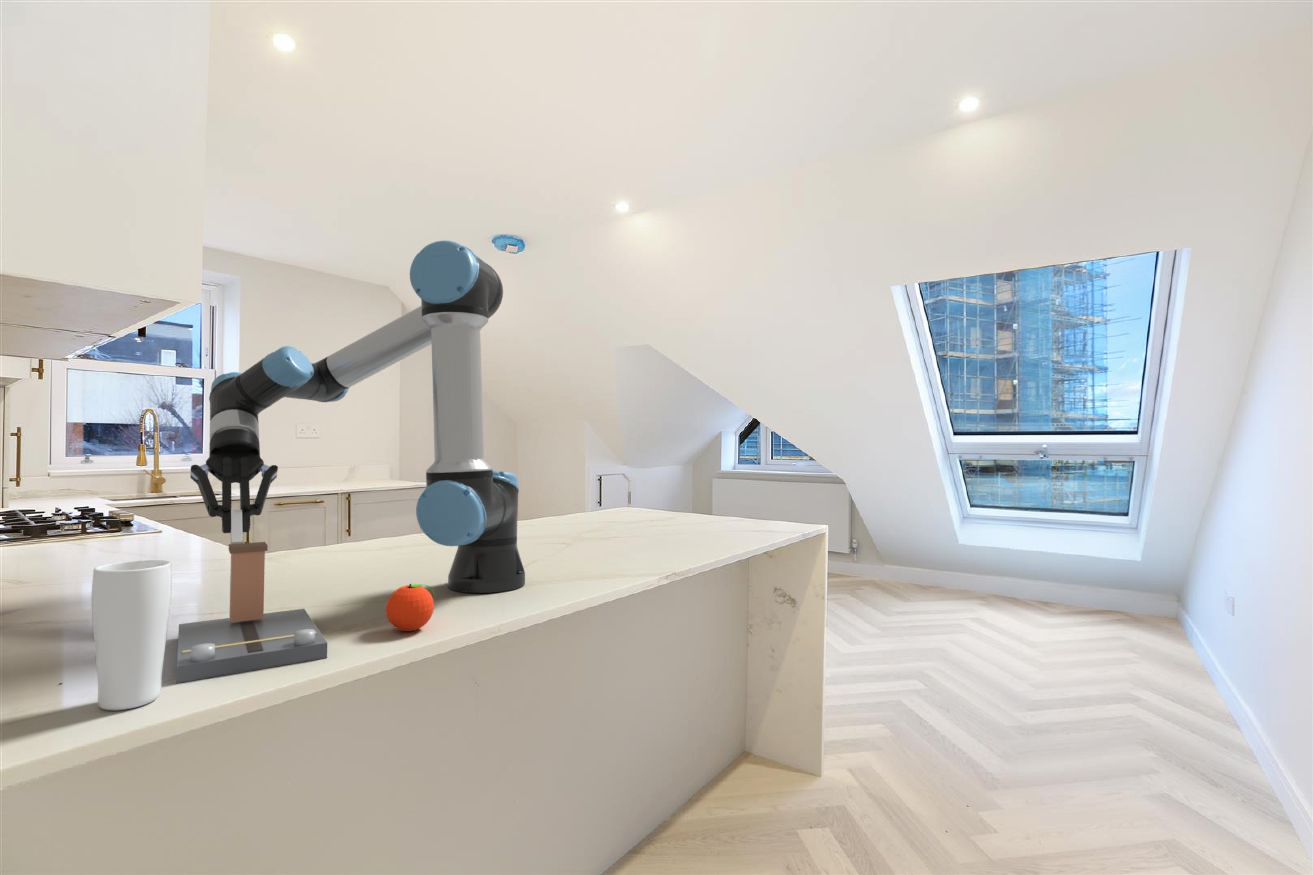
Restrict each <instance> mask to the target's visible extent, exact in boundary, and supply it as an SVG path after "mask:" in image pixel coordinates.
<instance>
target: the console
mask: <svg viewBox="0 0 1313 875" xmlns="http://www.w3.org/2000/svg"><path fill="white" fill-rule="evenodd" d="M177 636H178V637H177V639H178V640H177V657H176V658H177V659H176V661H177V662H176V684H180V683H186V682H191V681H198V680H203V679H209V678H216V677H221V676H227V675H234V674H240V673H245V672H250V671H257V670H258V671H259V670H263V669H270V668H275V667H280V666H287V665H292V664H298V663H303V662H310V661H317V660H321V659H322V660H323V659H327V658H328V641H327V640H326V638H325V637H324V635H323V634H322V632H321V631H320V630H319V628H318V627H317V626H316V624H315V622H314V621H313V619H312V617H310V615H309V614H308V612H307V610H306V609H305V608H299V609H298V608H297V609H290V610H283V611H282V610H281V611H274V612H266V613H265V612H264V613H263V619H257V620H249V621H241V622H233V623H231V622H230V617H227V618H218V619H217V618H216V619H211V620H202V621H201V620H200V621H194V622H186V623H178V635H177Z"/></svg>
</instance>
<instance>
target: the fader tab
mask: <svg viewBox="0 0 1313 875" xmlns="http://www.w3.org/2000/svg"><path fill="white" fill-rule="evenodd" d="M228 552H229V554H230V574H229V575H230V576H229V577H230V578H229V580H230V581H229V618H230V622H231V623H233V622H241V621H249V620H257V619H263V614H265V612H264V610H265V609H264V607H265V605H264V602H265V563H266V561H265V560H266V559H265V558H266V552H268V543H266V541H258V542H245V543H241V544H231V543H230V544H228Z"/></svg>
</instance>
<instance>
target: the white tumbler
mask: <svg viewBox="0 0 1313 875" xmlns="http://www.w3.org/2000/svg"><path fill="white" fill-rule="evenodd" d="M172 570H173V569H172V562H171V561H169V560H163V559H142V560H141V559H140V560H129V561H120V562H114V563H108V564H107V563H106V564H102V565H99V566H96V567H95V568H93V570H92V583H91V618H92V627H93V628H92V630H93V638H94V639H93V641H94V650H95V651H94V652H95V661H96V663H95V664H96V676H97V677H96V678H97V704H98V707H99V708H101V709H102V710H105V711H123V710H125V711H126V710H130V709H134V708H138V707H143V706H145V705H147V704H151V702H153V701H155V700H157V699H158V698H159V697H160V695H161V692H162V684H163V683H162V678H163V677H162V676H163V668H164V659H165V651H166V643H167V636H168V627H169V621H170V613H171V605H172V594H173V593H172V590H173V573H172Z"/></svg>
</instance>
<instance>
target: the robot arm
mask: <svg viewBox="0 0 1313 875" xmlns="http://www.w3.org/2000/svg"><path fill="white" fill-rule="evenodd" d="M409 282H410V285H411V287H412V289H413V290H414V293H415V294H416V295H417V296H418V298H419V299H421V305H420V306H418V307H416V308H414V309H412V310H411V311H409V312H407V313H405V314H403V315H401V316H400V317H398V318H396V319H394V320H392V321H391V322H389V323H387V324H385V325H383V326H381V327H379V328H377V329H375V330H374V331H371V333H368V334H366V335H365V336H363V337H361V338H359V339H357V340H355V341H353V342H352V343H350V344H348V345H346V346H344V347H342V348H340V349H339V350H337V351H334V352H333V353H331V354H329V355H328V356H326V357H324V358H322V359H320V360H318V361H316V362H314V363H313V362H311V361H310V359H309V358H308V357H307V356H306V355H305V353H303V352H302V351H301V350H298V349H297V348H296V347H294V346H290V345H285V346H282V347H279V348H278V349H277V350H275V351H272V352H270V353H268V354H267V355H265V357H264V358H263V357H262V359H260V360H259V361H257V362H256V363H255V364H253V365H252V366H251V367H249V368H248V369H246V370H245V371H244V372H239V371H238V372H236V371H231V372H228V373H222V374H220V375H218V376H216V378H215V379H214V380H213V381H212V383H211V387H210V393H209V397H208V401H209V415H210V416H209V452H208V453H209V454H208V455H209V456H208V458H207V459H206V460H205V463H204V464H201V465H198V464H192V465H191V466H190V479H191V480H193V482H194V483H195V484H196V485H197V486H198V489H199V492H200V494H201V497H202V500H203V503H204V505H205V508H206V512H207V513H208V514H207V515H208V516H209V517H211V518H214V517H219V518H221V532H222V533H223V534H230V536H229V537H230V539H229V540H230V544H241V543H243V542H244V540H243V538H244V536H243V535H244V534H243V533H249V532H250V530H251V516H260V515H261V514H262V512H263V509H264V507H265V506H264V505H265V504H266V500H267V496H268V494H269V490H270V486H271V483H273V482H274V481H275V480H276V479H277V476H278V471H279V466H277V465H276V464H271V465H270V466H269V465H267V464H265V463H264V462H265V461H264V460H263V459H262V457H261V451H260V450H261V449H260V448H261V447H260V446H261V445H260V428H259V414H260V413H262V411H264V410H266V409H267V408H269V407H271V406H272V405H273V404H276V403H277V402H278V401H280V400H281V399H283V398H287V399H288V398H290V399H295V400H296V399H297V400H307V401H316V402H319V403H331V402H334V403H335V402H337V401H341V400H342V399H343V398H344V397H345V396H346V394H347V393H348V392H349V389H350V388H351V387H353V386H355V385H357V384H359V383H361V382H362V381H364V380H366V379H368V378H370V377H372V376H373V375H375V374H377V373H379V372H381V371H384V370H385V369H387V368H389V367H390V366H392V365H395V364H396V363H398V362H400V361H403V360H404V359H406V358H408V357H410V356H412V355H413V354H415V353H417V352H420V351H421V350H422V349H425V348H426V347H429V346H430V345H431V365H432V366H431V367H432V368H431V369H432V371H431V372H432V400H433V401H432V406H433V407H432V408H433V412H432V414H433V442H434V443H433V444H434V446H433V448H434V449H433V450H434V453H433V454H434V461H433V463H432V464H431V465H430V466H428V468H427V469H426V471H425V476H426V477H425V478H426V480H425V484H426V486H425V489H424V490H423V492H421V494H420V496H419V498H418V500H417V503H416V508H415V514H416V519H417V523H418V525H419V528H420V529H421V531H422V532H423V534H424V535H426V536H427V538H428V539H430V540H431V541H433V542H434V543H436V544H438V545H440V546H445V547H457V549H456V552H455V554H454V558H453V561H452V564H451V567H450V570H449V572H448V576H447V577H448V578H447V588H448V589H450V590H451V591H455V592H461V593H471V594H474V593H475V594H483V593H484V594H485V593H486V594H487V593H500V592H506V591H511V590H512V591H513V590H517V589H519V588H522V587H523V586H524V585H526V572H525V568H524V565H523V562H522V558H521V555H520V551H519V549H518V519H519V518H518V511H519V510H518V509H519V508H518V507H519V493H520V490H519V480H518V476H517V475H516V474H515V473H513V472H509V471H501V470H500V471H499V470H494V469H493V466H491V465H490V464H489V463H488V462H487V461H486V460H485V455H484V453H485V452H484V448H485V447H484V423H483V422H484V420H483V417H484V416H483V387H482V386H483V384H482V354H481V352H482V350H481V349H482V348H481V347H482V346H481V330H482V329H483V328H484V327H485V326H486V325H487V324H488V323H489V319H490V318H491V317H493V316H494V314H495V313H497V311H498V309H499V308H500V306H501V304H502V302H503V298H504V287H503V283H502V279H501V278H500V276H499V274H498V273H497V271H496V270H495V269H494V268H493V267H492V266H491V265H489V264H488V263H486V262H485V261H483V259H481V258H480V257H478V256H477V255H476V254H475V253H474V251H473V250H472V249H470V248H468V247H467V246H465V245H462V244H461V243H458V242H456V241H452V240H436V241H434V242H430V243H429V244H427V245H426V246H424V247H423V248H422V249H421V250H420V251H419V252H418V253H417V254H416V255H415V256H414V258H413V260H412V262H411V265H410V268H409ZM209 473H210V474H211V475H212V476H213V477H215V478H216V479H217V480H218V481H220V482H221V504H219V502H218V500H217V498H216V495H215V492H214V489H213V486H212V484H211V482H210V479H209ZM259 473H261V477H262V479H261V481H260V484H259V488H258V491H257V492H256V496H255V500H254V503H251V498H250V497H251V494H250V493H251V492H250V481H252V480H253V479H254V478H255V477H256V476H257V475H258V474H259ZM233 483H237V484H239V505H240V506H239V508H240V509H232V484H233Z"/></svg>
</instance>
